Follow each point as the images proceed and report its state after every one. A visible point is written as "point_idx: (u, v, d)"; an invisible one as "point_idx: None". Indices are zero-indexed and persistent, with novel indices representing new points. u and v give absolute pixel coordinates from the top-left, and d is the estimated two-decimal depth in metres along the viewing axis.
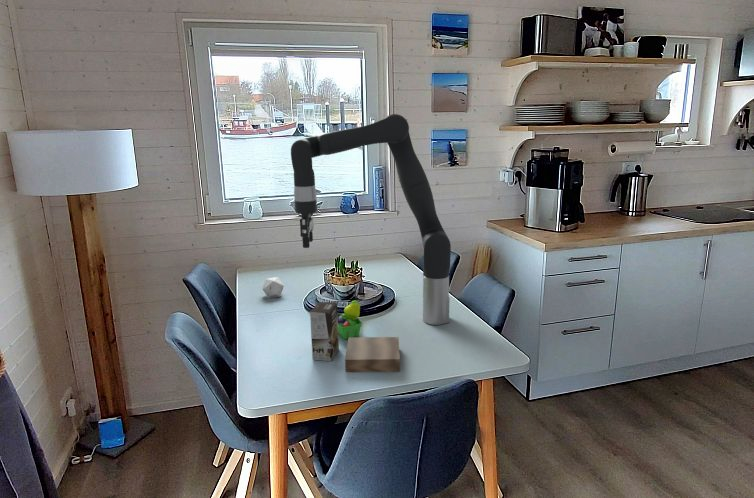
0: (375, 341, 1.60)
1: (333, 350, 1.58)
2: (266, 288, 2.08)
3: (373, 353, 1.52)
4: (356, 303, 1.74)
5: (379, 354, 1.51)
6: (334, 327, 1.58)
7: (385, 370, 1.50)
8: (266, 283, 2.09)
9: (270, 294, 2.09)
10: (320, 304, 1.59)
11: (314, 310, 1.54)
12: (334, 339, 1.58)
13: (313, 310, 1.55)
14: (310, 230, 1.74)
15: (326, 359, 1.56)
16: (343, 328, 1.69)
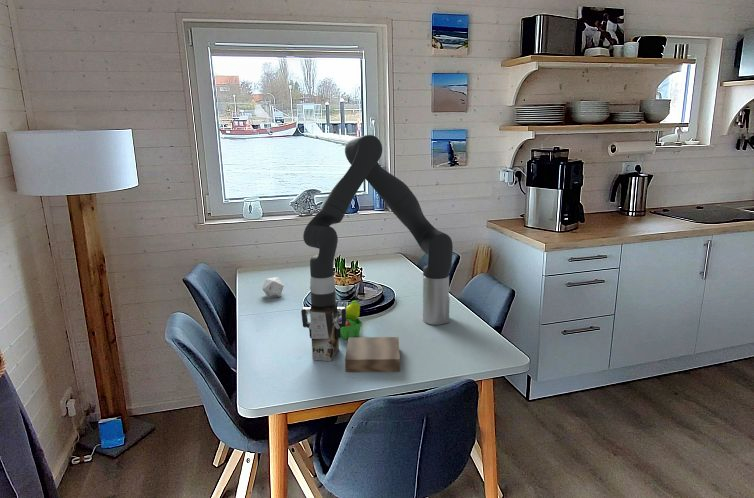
0: (375, 341, 1.60)
1: (333, 350, 1.58)
2: (266, 288, 2.08)
3: (373, 353, 1.52)
4: (356, 303, 1.74)
5: (379, 354, 1.51)
6: (334, 327, 1.58)
7: (385, 370, 1.50)
8: (266, 283, 2.09)
9: (270, 294, 2.09)
10: None
11: (314, 310, 1.54)
12: (334, 339, 1.58)
13: (313, 309, 1.55)
14: None
15: (326, 359, 1.56)
16: (343, 328, 1.69)
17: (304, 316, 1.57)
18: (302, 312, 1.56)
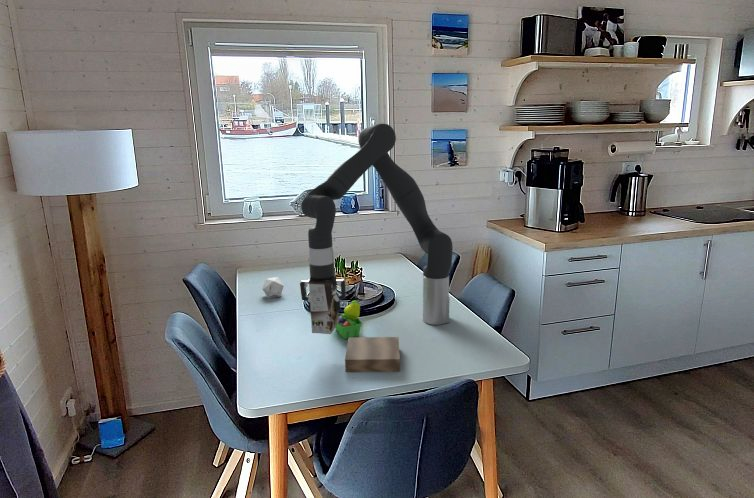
0: (375, 341, 1.60)
1: (333, 323, 1.56)
2: (266, 288, 2.08)
3: (373, 353, 1.52)
4: (356, 303, 1.74)
5: (379, 354, 1.51)
6: (333, 300, 1.55)
7: (385, 370, 1.50)
8: (266, 283, 2.09)
9: (270, 294, 2.09)
10: None
11: (313, 282, 1.52)
12: (334, 312, 1.56)
13: (312, 282, 1.52)
14: None
15: (326, 332, 1.54)
16: (343, 328, 1.69)
17: (303, 289, 1.54)
18: (301, 285, 1.54)
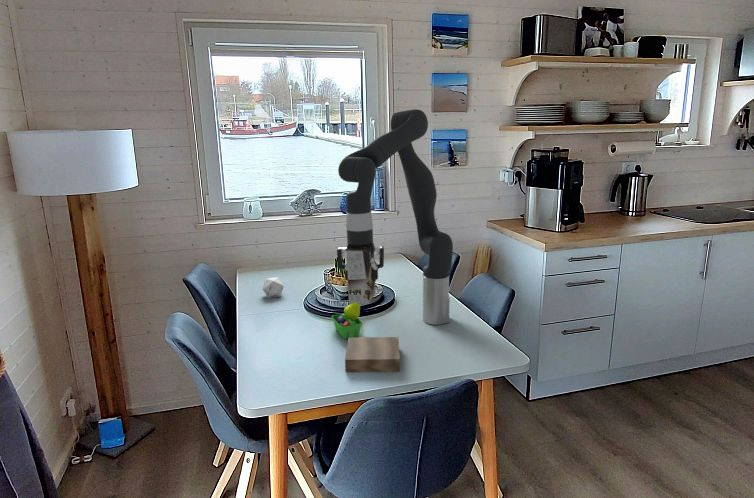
0: (375, 341, 1.60)
1: (370, 292, 1.50)
2: (266, 288, 2.08)
3: (373, 353, 1.52)
4: (356, 303, 1.74)
5: (379, 354, 1.51)
6: (371, 268, 1.49)
7: (385, 370, 1.50)
8: (266, 283, 2.09)
9: (270, 294, 2.09)
10: None
11: (351, 249, 1.46)
12: (371, 281, 1.50)
13: (349, 249, 1.46)
14: None
15: (363, 301, 1.48)
16: (343, 328, 1.69)
17: (340, 256, 1.48)
18: (338, 252, 1.48)
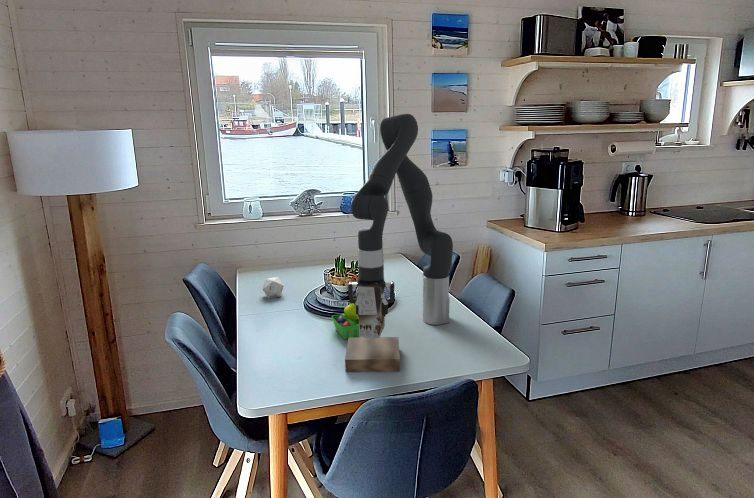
0: (375, 341, 1.60)
1: (380, 327, 1.51)
2: (266, 288, 2.08)
3: (373, 353, 1.52)
4: None
5: (379, 354, 1.51)
6: (381, 303, 1.51)
7: (385, 370, 1.50)
8: (266, 283, 2.09)
9: (270, 294, 2.09)
10: None
11: (362, 285, 1.48)
12: (381, 316, 1.52)
13: (361, 284, 1.48)
14: None
15: (374, 336, 1.50)
16: (343, 328, 1.69)
17: (351, 291, 1.50)
18: (349, 287, 1.50)
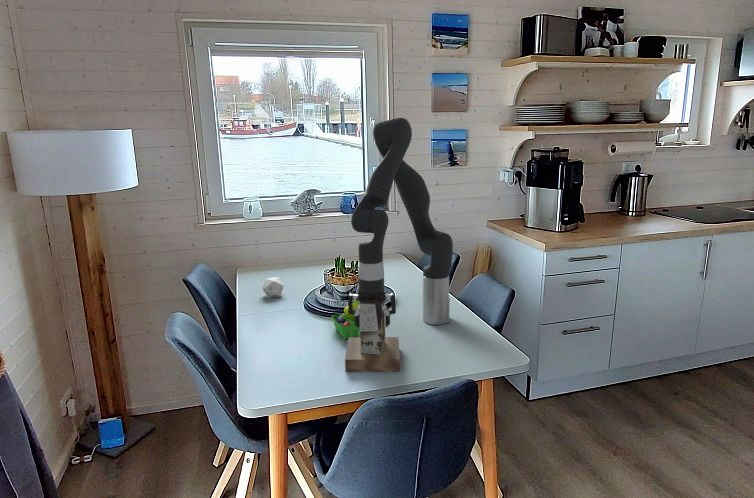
0: None
1: (382, 343, 1.53)
2: (266, 288, 2.08)
3: None
4: (356, 303, 1.74)
5: None
6: (382, 320, 1.52)
7: (385, 370, 1.50)
8: (266, 283, 2.09)
9: (270, 294, 2.09)
10: None
11: (363, 302, 1.49)
12: (382, 332, 1.53)
13: (362, 301, 1.50)
14: None
15: (375, 352, 1.51)
16: (343, 328, 1.69)
17: (351, 303, 1.51)
18: (349, 298, 1.50)
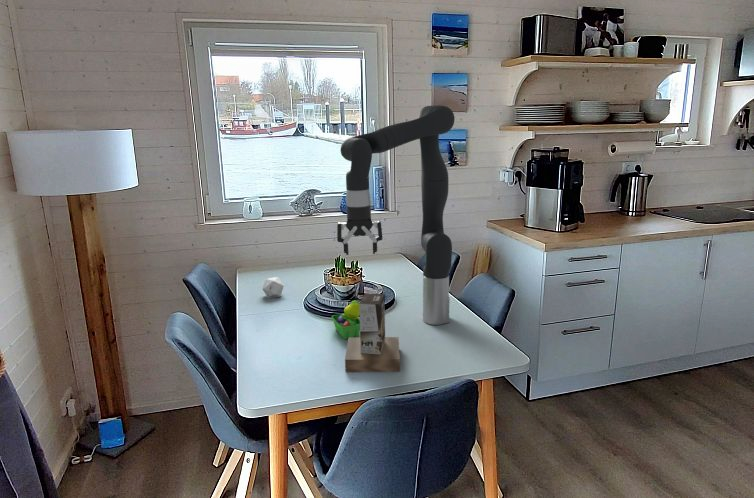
0: None
1: (382, 343, 1.53)
2: (266, 288, 2.08)
3: None
4: (356, 303, 1.74)
5: None
6: (382, 320, 1.52)
7: (385, 370, 1.50)
8: (266, 283, 2.09)
9: (270, 294, 2.09)
10: (368, 296, 1.54)
11: (363, 302, 1.49)
12: (382, 332, 1.53)
13: (362, 301, 1.50)
14: None
15: (375, 352, 1.51)
16: (343, 328, 1.69)
17: (339, 230, 1.59)
18: (338, 226, 1.59)
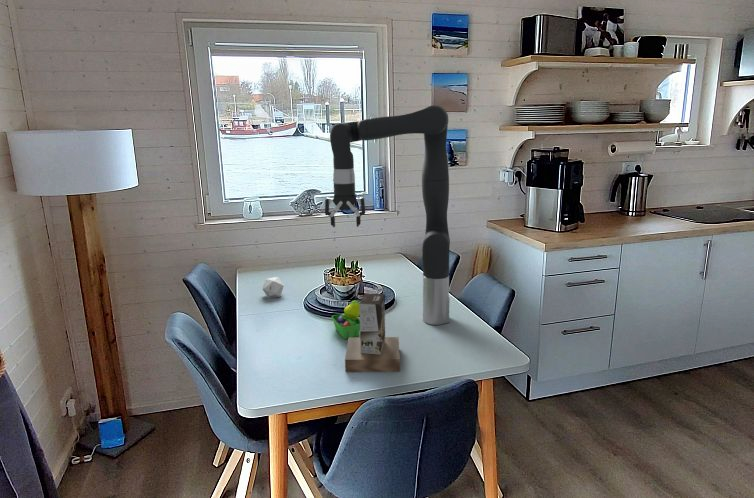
0: None
1: (382, 343, 1.53)
2: (266, 288, 2.08)
3: None
4: (356, 303, 1.74)
5: None
6: (382, 320, 1.52)
7: (385, 370, 1.50)
8: (266, 283, 2.09)
9: (270, 294, 2.09)
10: (368, 296, 1.54)
11: (363, 302, 1.49)
12: (382, 332, 1.53)
13: (362, 301, 1.50)
14: None
15: (375, 352, 1.51)
16: (343, 328, 1.69)
17: (327, 205, 1.80)
18: (326, 201, 1.79)
